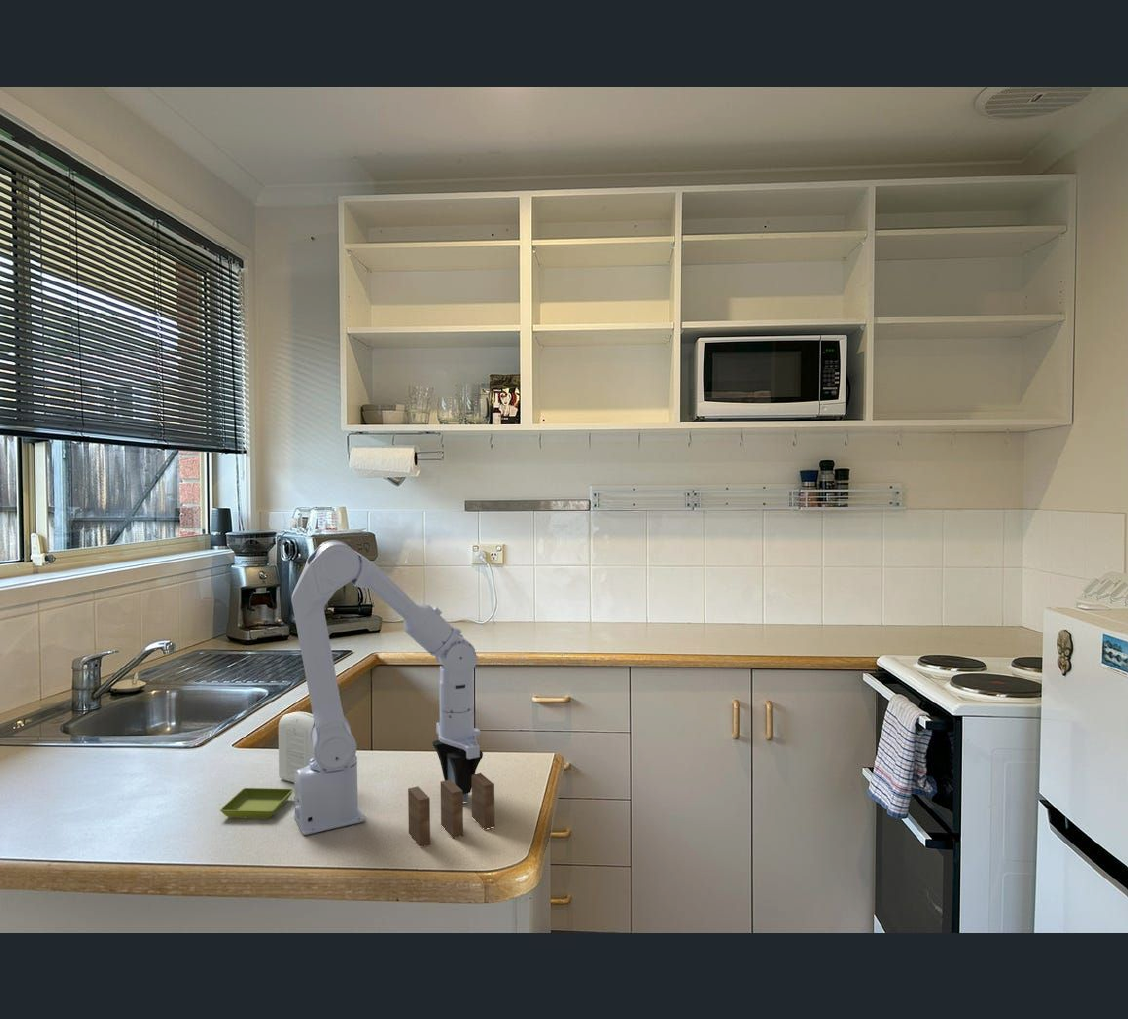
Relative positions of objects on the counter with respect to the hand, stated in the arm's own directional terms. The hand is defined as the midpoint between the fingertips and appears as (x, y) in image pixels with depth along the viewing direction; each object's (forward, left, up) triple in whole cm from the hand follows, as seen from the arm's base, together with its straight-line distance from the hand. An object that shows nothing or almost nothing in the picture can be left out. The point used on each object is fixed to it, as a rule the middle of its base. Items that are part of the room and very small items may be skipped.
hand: (457, 787), depth 128 cm
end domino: (0, 0, -2) cm, 2 cm away
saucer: (-30, +13, -3) cm, 33 cm away
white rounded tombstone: (-21, +21, -2) cm, 30 cm away
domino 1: (-10, -10, -2) cm, 15 cm away
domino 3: (0, -10, -2) cm, 11 cm away
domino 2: (-5, -10, -2) cm, 12 cm away
